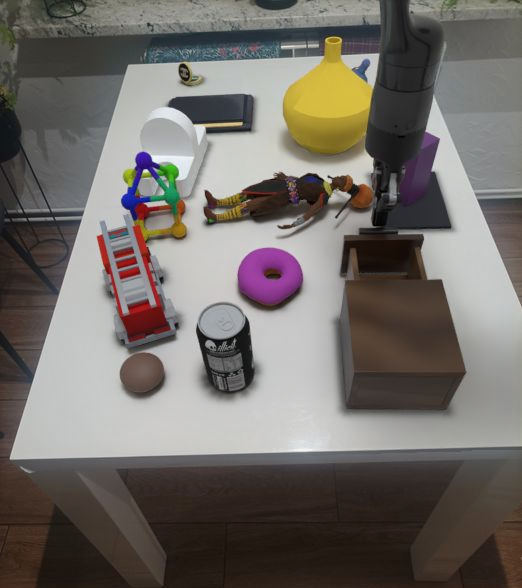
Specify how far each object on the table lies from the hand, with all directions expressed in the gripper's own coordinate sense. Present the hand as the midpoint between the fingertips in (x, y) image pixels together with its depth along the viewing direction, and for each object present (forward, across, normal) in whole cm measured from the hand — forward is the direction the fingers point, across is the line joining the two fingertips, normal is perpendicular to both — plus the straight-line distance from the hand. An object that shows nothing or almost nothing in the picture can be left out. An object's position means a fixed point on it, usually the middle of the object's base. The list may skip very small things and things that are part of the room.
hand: (378, 223), depth 75 cm
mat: (+6, -13, +8) cm, 17 cm away
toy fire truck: (+6, +12, -37) cm, 39 cm away
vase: (+6, -33, -6) cm, 34 cm away
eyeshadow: (+6, -62, -38) cm, 73 cm away
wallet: (+6, -45, -32) cm, 56 cm away
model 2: (+6, -49, -2) cm, 50 cm away
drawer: (+5, +10, 0) cm, 11 cm away
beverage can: (+6, +25, -22) cm, 34 cm away
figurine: (+6, -11, -14) cm, 19 cm away
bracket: (+6, -25, -37) cm, 45 cm away
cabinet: (+6, +23, 0) cm, 23 cm away
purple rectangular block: (+5, -14, +8) cm, 17 cm away
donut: (+6, +8, -17) cm, 20 cm away
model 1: (+6, -7, -37) cm, 38 cm away
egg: (+6, +26, -34) cm, 43 cm away
